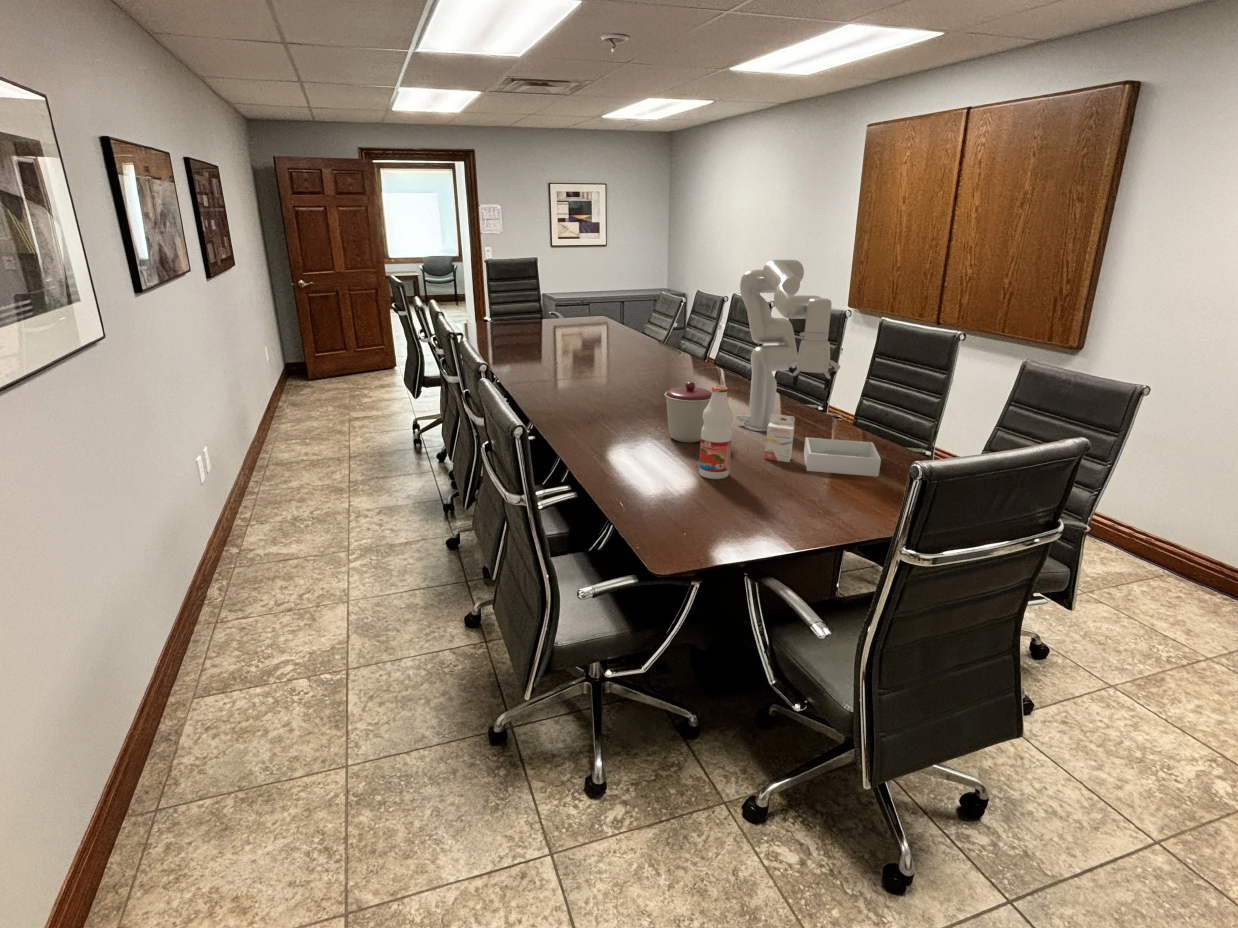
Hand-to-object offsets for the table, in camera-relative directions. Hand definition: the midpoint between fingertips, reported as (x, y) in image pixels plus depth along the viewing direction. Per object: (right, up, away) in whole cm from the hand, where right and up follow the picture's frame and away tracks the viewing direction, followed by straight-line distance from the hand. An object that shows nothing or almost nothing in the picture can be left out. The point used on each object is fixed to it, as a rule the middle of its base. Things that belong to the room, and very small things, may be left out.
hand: (810, 388), depth 231 cm
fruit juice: (-34, -29, -14) cm, 47 cm away
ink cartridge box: (-11, -24, +2) cm, 26 cm away
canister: (-39, -16, +22) cm, 47 cm away
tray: (+9, -25, -2) cm, 27 cm away
